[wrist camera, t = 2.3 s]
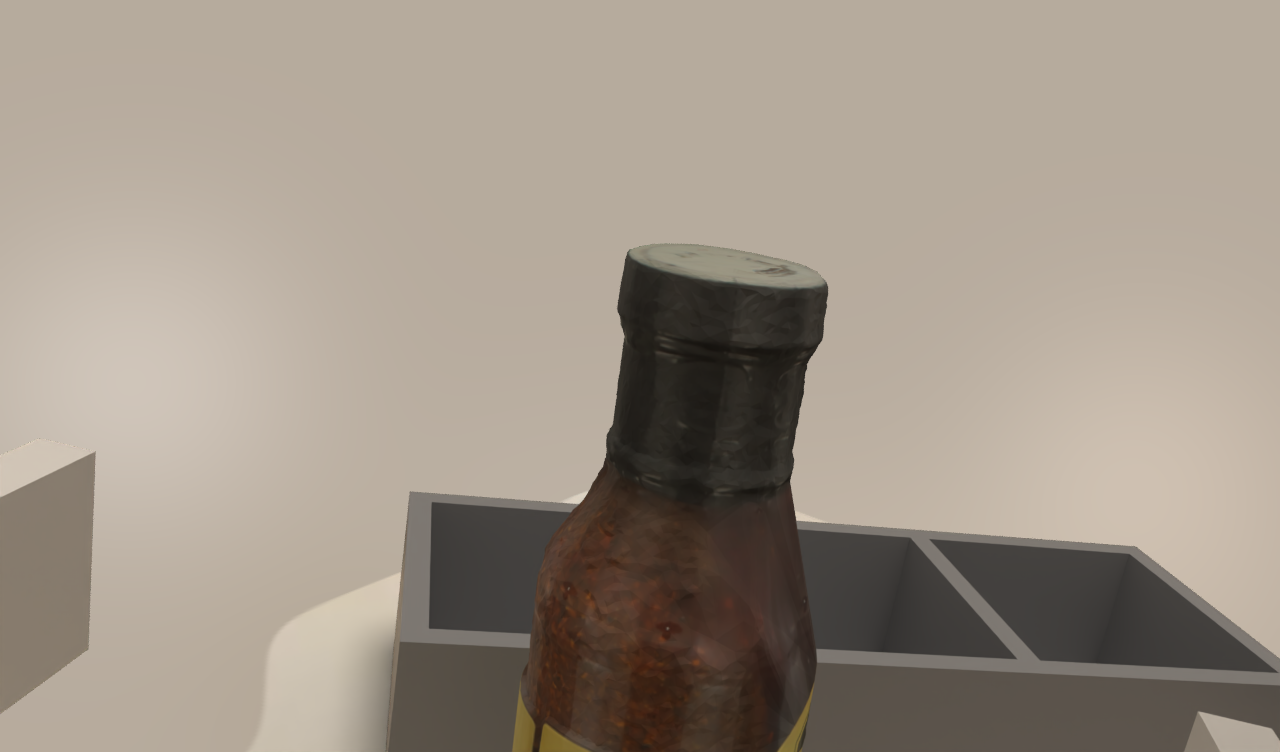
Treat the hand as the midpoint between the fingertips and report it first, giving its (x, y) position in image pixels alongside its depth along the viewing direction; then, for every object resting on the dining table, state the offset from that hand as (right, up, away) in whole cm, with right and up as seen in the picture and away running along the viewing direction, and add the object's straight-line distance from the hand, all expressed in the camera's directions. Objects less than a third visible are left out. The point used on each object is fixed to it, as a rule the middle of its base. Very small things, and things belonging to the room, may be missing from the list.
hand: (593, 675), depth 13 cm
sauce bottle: (0, -13, +14) cm, 19 cm away
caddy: (+7, -10, +29) cm, 31 cm away
